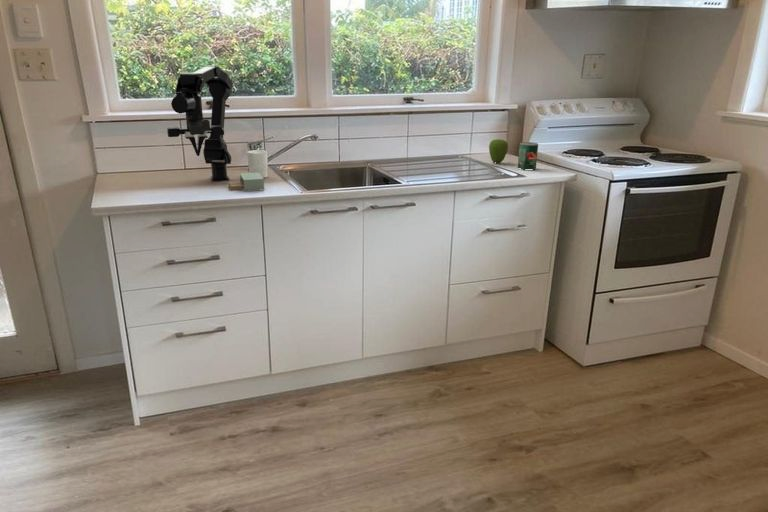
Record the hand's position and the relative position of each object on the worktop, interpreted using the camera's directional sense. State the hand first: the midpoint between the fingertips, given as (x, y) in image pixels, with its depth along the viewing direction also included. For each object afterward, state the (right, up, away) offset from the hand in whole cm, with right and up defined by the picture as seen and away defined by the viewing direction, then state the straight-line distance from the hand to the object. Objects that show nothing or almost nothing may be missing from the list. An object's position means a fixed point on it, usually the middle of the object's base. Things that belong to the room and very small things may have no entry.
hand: (198, 155), depth 208 cm
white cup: (+16, -4, +25) cm, 30 cm away
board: (+15, -11, +7) cm, 20 cm away
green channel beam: (+18, -10, +7) cm, 22 cm away
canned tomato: (+129, +2, +48) cm, 137 cm away
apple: (+118, +6, +60) cm, 132 cm away
